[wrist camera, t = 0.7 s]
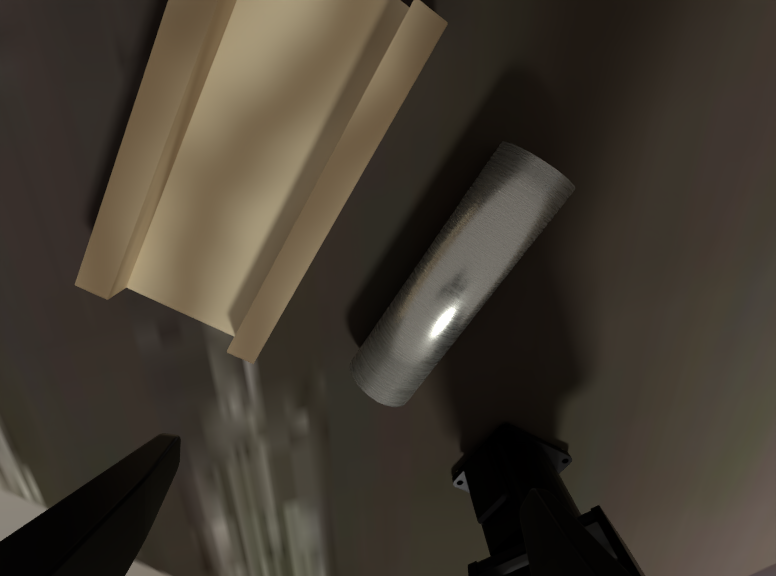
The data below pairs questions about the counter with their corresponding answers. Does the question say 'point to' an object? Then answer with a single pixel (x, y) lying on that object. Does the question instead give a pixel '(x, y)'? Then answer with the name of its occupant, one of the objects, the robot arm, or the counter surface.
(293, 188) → the cradle
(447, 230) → the axle
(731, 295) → the counter surface
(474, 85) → the counter surface
